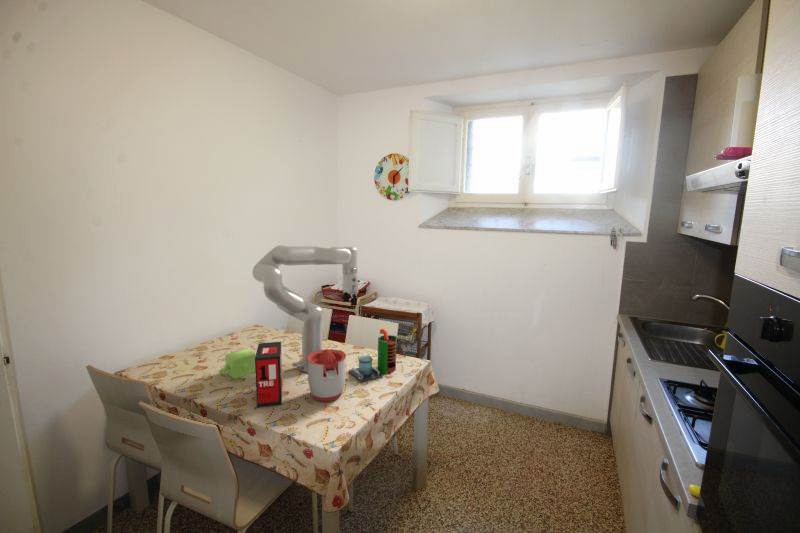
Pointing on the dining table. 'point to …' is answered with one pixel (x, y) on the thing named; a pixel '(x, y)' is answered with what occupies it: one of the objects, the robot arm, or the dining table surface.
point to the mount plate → (365, 378)
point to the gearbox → (239, 363)
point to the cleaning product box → (268, 374)
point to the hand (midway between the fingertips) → (350, 303)
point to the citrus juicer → (326, 374)
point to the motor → (386, 352)
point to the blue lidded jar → (365, 365)
